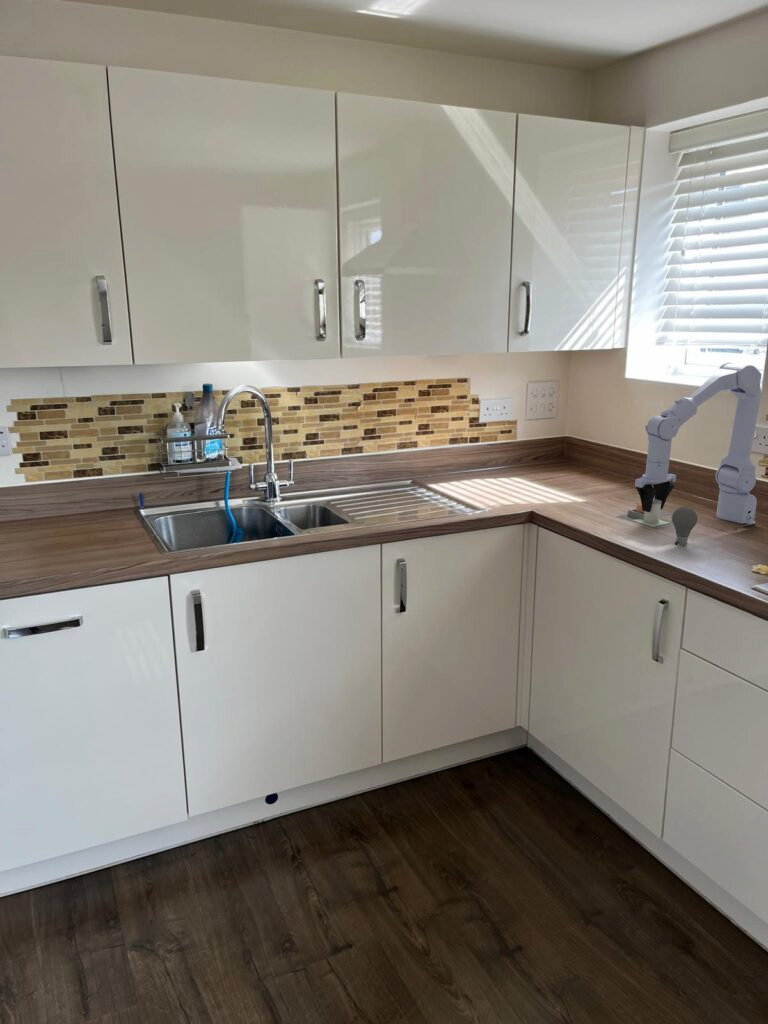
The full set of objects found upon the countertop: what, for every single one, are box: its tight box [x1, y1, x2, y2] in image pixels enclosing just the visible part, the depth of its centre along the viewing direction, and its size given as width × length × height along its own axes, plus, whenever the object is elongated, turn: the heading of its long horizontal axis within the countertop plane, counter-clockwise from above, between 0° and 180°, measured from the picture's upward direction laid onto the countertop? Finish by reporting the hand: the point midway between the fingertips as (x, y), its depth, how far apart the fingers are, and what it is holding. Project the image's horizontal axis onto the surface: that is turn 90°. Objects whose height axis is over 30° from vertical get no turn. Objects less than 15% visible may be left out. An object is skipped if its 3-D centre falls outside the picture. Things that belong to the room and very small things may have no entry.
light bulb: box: [671, 506, 698, 546], centre depth 192 cm, size 6×6×10 cm
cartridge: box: [643, 497, 662, 523], centre depth 208 cm, size 4×4×6 cm
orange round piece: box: [635, 502, 645, 514], centre depth 214 cm, size 4×4×3 cm
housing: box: [615, 508, 674, 530], centre depth 213 cm, size 14×17×3 cm
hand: (652, 509), depth 208 cm, fingers open, 5 cm apart
